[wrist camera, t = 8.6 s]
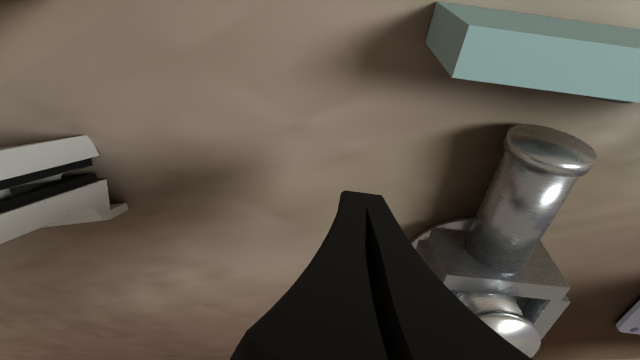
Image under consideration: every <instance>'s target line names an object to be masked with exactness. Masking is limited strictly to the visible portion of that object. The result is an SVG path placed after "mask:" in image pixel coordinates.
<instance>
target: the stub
mask: <svg viewBox="0 0 640 360" xmlns="http://www.w3.org/2000/svg"><path fill="white" fill-rule="evenodd" d="M475 217H476V216H467V217H459V218H454V219H449V220H446V221H443V222H439V223H437V224H435V225H432V226H430V227H428V228H427V229H425V230H423V231H421V232H420V233H419V234H417V235H416V236H415V237H414V238H412V239H411V240H410V242H411V244H412V245H413V247H414V248H415V249H416V246H417V243H418V241H419V239H420V240H428V238H429V235H430V232H431V230H432V227H435V228H444V229H454V230H463V231H470V228H471V226H472V224H473V222H474V219H475ZM451 292H452V293H453V294H454V295H455V296H456V297H457V298H458V299H459V300H460V301H461V302H463V303H464V304H465V305H466V306H467V307H468V308H469V309H470V310H471V311H472V312H473V313H474V314H475V315H477V316H478V317H479V318H480V319H481V320H482V321H483V322H485V323H486V324H487V325H488V326H489V327H491V328H492V329H493V330H494V331H496V332H497V333H498V334H499V335H500V336H502V337H503V338H504V339H505V340H507V341H508V342H509V343H511V344H512V345H513V346H515V347H516V348H518V349H519V350H520V351H522V352H523V353H524V354H526V355H527V356H528V357H530V358H531V357H533V356H534V355H535V354H536V352H537V351H538V350H539V347H540V344H541V338H540V335H539V333H538V331H537V329H536V327H535V325H534V324H533V323H532V322H531V320H529V319H528V318H526V317H524V316H523V315H522V313H521V311H520V308H519V306H518V304H517V302H516V300H515V298H514V296H508V295H498V294H489V293H479V292H469V291H460V290H451Z"/></svg>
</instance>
